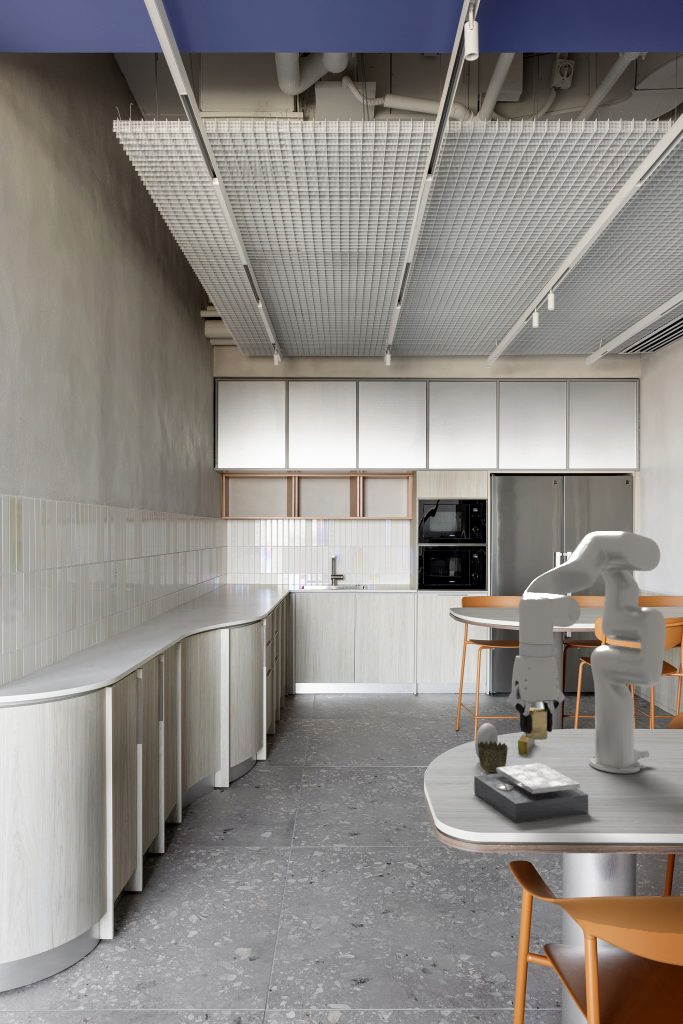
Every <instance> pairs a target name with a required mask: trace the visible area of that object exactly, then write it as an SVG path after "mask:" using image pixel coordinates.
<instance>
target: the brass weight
mask: <svg viewBox="0 0 683 1024" xmlns="http://www.w3.org/2000/svg"><path fill="white" fill-rule="evenodd" d="M529 716H531V733H530V734H527V733H526V737H527V738H530V739H535V740H536V741H537V740H540V741H541V740H542V741H543V740H547V739H548V731H547V710H546V709H543V708H541V707H530V710H529Z"/></svg>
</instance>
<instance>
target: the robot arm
mask: <svg viewBox="0 0 683 1024" xmlns="http://www.w3.org/2000/svg"><path fill="white" fill-rule="evenodd" d="M572 551H573V552H572V553H571V554H570V555H569V557H568V559H566V561H565V562H564V563H562V564H561V565H558V566H556V567H553V568H552V569H550V570H548V571H547V572H544V573H543V574H541V575H539V576H537V577H536V578H535V579H534V580H533V581H532V582H531V583H530V584H528V586H527V588H526V589H525V590H524V592H523V593H522V595H521V597H520V599H519V601H518V607H517V610H518V619H519V620H518V623H519V624H518V629H519V630H518V631H519V632H518V641H519V643H518V644H519V645H518V649H519V650H518V655H516V656H515V659H514V663H513V669H512V678H511V692H510V693H509V696H508V697H507V699H506V702H507V703H509V704H510V705H511V706H512V707H513V708H514V709H515V710H516V711H517V713H518V714H519V728H520V731H521V732H523V733H524V732H525V733H527V734H530V733H531V716H529V710H530V708H531V705H532V703H541V704H542V707H543V708H542V709H546V710H547V733H548V732H549V733H550V732H551V733H552V731H553V720H554V719H553V715H554V714H555V712H556V709H557V708H558V707H559V705H560V704H562V702H563V701H564V700H565V698H566V696H565V694H564V692H562V689H560V679H559V669H558V664H557V659H556V656H554V654H555V653H554V652H555V651H557V650H558V645H556V644H554V627H560V628H568V627H571V626H573V625H574V624H576V623H577V622H578V620H579V619H580V616H581V607H580V603H579V602H578V601H577V599H576V598H574V597H572V596H570V595H568V594H572V593H577V592H580V591H584V590H586V589H589V588H591V587H592V586H594V585H595V583H596V582H597V580H598V579H599V577H600V576H602V578H603V581H604V586H605V590H604V591H605V593H604V601H603V611H602V617H601V618H602V619H601V630H602V631H601V632H602V634H603V635H604V637H606V638H607V639H609V640H613V641H620V642H627V643H635V644H640V648H639V647H633V646H632V647H631V646H625V645H616V644H602V645H599V646H597V647H596V648H594V649H593V651H592V652H591V654H590V655H591V656H590V668H591V673H592V679H593V683H594V684H593V686H594V687H593V688H594V722H595V723H594V726H595V727H594V728H595V729H594V731H595V732H594V733H595V734H594V737H595V738H594V741H595V742H594V743H595V754H594V755H593V756H591V757H590V758H589V760H588V762H589V765H590V766H591V767H592V768H593V769H596V770H600V771H603V772H607V773H612V774H624V775H625V774H635V773H638V772H639V771H641V766H642V765H641V763H640V762H639V760H640V759H646V758H650V752H649V750H647V749H644V750H643V749H642V750H639V749H638V748H635V724H634V723H635V722H634V721H635V719H634V718H635V717H634V715H635V713H634V712H635V711H634V697H633V696H632V693H631V691H630V689H629V687H628V686H627V685H630V686H631V685H632V686H637V687H645V688H653V687H655V686H656V685H658V684H659V682H660V680H661V676H662V674H663V673H662V672H663V664H664V656H665V648H666V646H665V645H666V637H667V635H666V634H667V625H666V619H665V616H664V614H663V613H662V611H660V610H659V609H658V608H654V607H650V606H649V607H648V606H639V601H640V600H639V599H640V598H639V597H640V588H639V584H638V583H637V581H636V579H635V578H634V576H633V575H632V574H631V573H630V571H634V572H638V571H639V572H651V571H653V570H654V569H656V568H657V567H658V565H659V563H660V561H661V550H660V547H659V545H658V543H657V542H656V541H655V540H654V539H652V538H649V537H647V536H643V535H641V534H638V533H633V532H629V531H623V530H622V531H621V530H620V531H617V530H616V531H607V530H606V531H592V532H589V533H588V534H586V535H585V536H584V537H583V538H582V539H581V541H580V542H579V543H578V545H577V546H576V547H575V549H574V550H572ZM518 700H519V702H518Z"/></svg>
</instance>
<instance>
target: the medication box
mask: <svg viewBox="0 0 683 1024" xmlns="http://www.w3.org/2000/svg"><path fill="white" fill-rule="evenodd" d="M535 744H536V743H535V739H530V738H527V737H526V733H525V732H523V733H522V735H521V736H520V737H519V739H518V740H517V751H518V755H522V756H528V755H529V754H530V752H531V750H532V749H533V748H534V746H535Z"/></svg>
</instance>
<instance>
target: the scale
mask: <svg viewBox="0 0 683 1024" xmlns="http://www.w3.org/2000/svg"><path fill="white" fill-rule="evenodd" d="M473 778H474V779H473V781H474V783H473V785H474V787H473V788H474V789H473V791H474V793H475V795H476V796H477V797H478V798H480V799H481V798H482V799H481V800H483V801H484V802H485V803H487V804H488V805H490V806H491V807H493V808H494V809H496V810H497V811H498V812H500V813H501V814H502V815H504V816H505V817H507V819H510V820H511V821H512V822H514V823H515V824H519V823H526V822H534V821H540V820H541V821H543V820H548V819H554V818H555V819H557V818H564V817H571V816H578V815H586V814H589V794H587V793H585V792H584V791H582V790H581V789H580V788H578V789H569V790H561V791H552V792H544V793H536V794H532V793H530V792H528V791H527V790H525V789H524V788H522V787H520V786H519V785H517V784H515V783H514V782H512V781H511V780H509V779H507V778H506V777H504V776H502V775H501V774H490V775H486V774H482V775H474V777H473Z"/></svg>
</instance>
